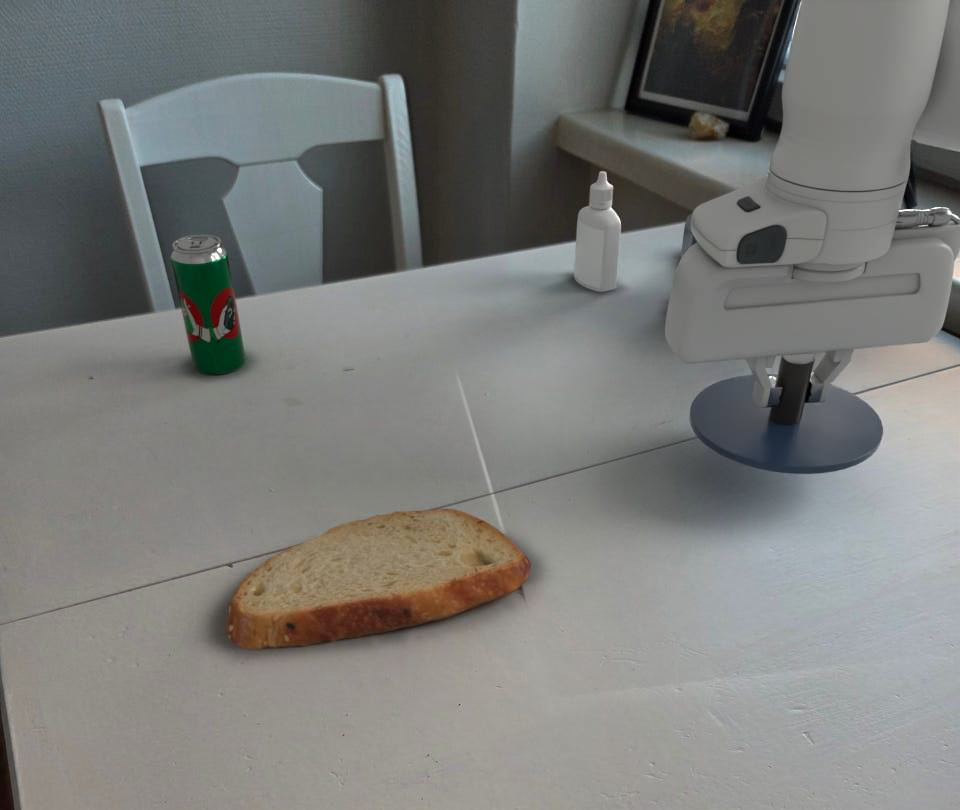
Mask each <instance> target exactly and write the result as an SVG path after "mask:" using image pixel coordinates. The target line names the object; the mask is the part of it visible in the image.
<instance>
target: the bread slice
mask: <svg viewBox="0 0 960 810" xmlns="http://www.w3.org/2000/svg"><path fill="white" fill-rule="evenodd" d="M531 568H532V563H531V560H530V559H529V557H528V556H527V554H525V553H524V551H522V550H521V549H520V548H519V547H518V546H517V545H516V544H515V543H514V542H513V540H511V539H510V538H509V537H508V536H507V535H505V534H504V533H503V532H502V531H500V530H499V529H498V528H496V527H494V526H493V525H492V524H490V523H488V522H487V521H485V520H483V519H481V518H478V517H477V516H474V515H472V514H469V513H468V512H464V511H462V510H458V509H454V508H435V509H426V510H425V509H424V510H409V511H404V510H403V511H398V510H397V511H393V512H389V513H385V514H376V515H374V516H371V517H368V518H365V519H357V520H352V521H349V522H346V523H341V524H339V525H336V526H334V527H332V528H330V529H328V530H327V531H325V532H324V533H323V534H321V535H320V536H318V537H315V538H311V539H310V540H307V541H305V542H302V543H300V544H297V545H293V546H290V547H289V548H287V549H285V550H283V551H281V552H280V553H277V554H276V555H273V556H272V557H269V558H268V559H267V560H266V561H265V562H263V563H262V564H261V565H260V566H259V567H257V568H256V569H254V570H253V571H252V572H250V573H249V574H247V575H246V576H245V577H244V578H243V579H242V581H241V582H240V584H239V585H238V587H237V588H236V590H235V591H234V594H233V595H232V598H231V599H230V602H229V605H228V611H227V617H226V625H225V632H226V635H227V637H228V639H229V640H230V641H231V642H232V643H233V644H235V645H236V646H237V647H239V648H241V649H245V650H256V651H257V650H263V649H268V648H274V649H279V648H289V647H299V648H300V647H301V648H302V647H308V646H311V645H316V644H328V643H329V644H330V643H333V642H336V641H340V640H343V639H357V638H360V637H363V636H367V635H374V634H383V633H388V632H392V631H396V630H399V629H404V628H410V627H416V626H420V625H423V624H425V623H428V622H434V621H435V622H436V621H442V620H445V619H447V618H450V617H453V616H455V615H458V614H460V613H463V612H467V611H471V610H473V609H475V608H477V607H479V606H481V605H483V604H486V603H489V602H492V601H496V600H498V599H501V598H503V597H506V596H508V595H510V594H513V593H514V592H515V591H517V590H518V589H520V588H521V587H522V586H523V584H525V582H527V580H528V578H529V575H530V570H531Z"/></svg>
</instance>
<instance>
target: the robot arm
mask: <svg viewBox="0 0 960 810" xmlns="http://www.w3.org/2000/svg"><path fill="white" fill-rule="evenodd" d="M790 40H791V41H790V46H789V50H788V56H787V61H786V65H785V71H784V76H783V83H782V89H781V105H782V125H781V131H780V134H779V137H778V140H777V142H776V145H775V147H774V149H773V151H772V154H771V156H770V158H769V159H770V160H769V164H768V169H767V170H768V171H767V175H765V176H763V177H761V178H759V179H757V180H755V181H753V182H751V183H749V184H746V185H744V186H742V187H740V188H737V189H735V190H732V191H730V192H728V193H725V194H722V195H720V196H718V197H715V198H713V199H710V200H708V201H704V202H702V203H701V204H699V205H698V206H696V207H695V208H694V209H693V211H692V213H693V214H692V213H691V214H692V218H691V231H692V234H693V235H694V237H695V239H696V240H697V243H695V244H694V245H692V246H691V247H690V248H689V249H688V250H687V251H686V252H685V253H684V255H683V256H682V258H681V257H680V258H681V260H680V259H679V262H678V264H677V267H676V269H675V274H674V277H673V281H672V285H671V289H670V294H669V299H668V303H667V310H666V316H665V325H664V335H665V339H666V341H667V343H668V345H669V347H670V349H671V351H673V353H674V354H675V355H676V356H677V357H678V358H679V360H681V361H682V362H683V363H685V364H688V365H689V364H690V365H691V364H701V363H702V364H703V363H713V362H722V361H723V362H724V361H735V360H745V361H746V363H747V365H748V367H749V370H750V372H751V375H753V376H754V378H755V385H754V390H753V401H754V403H755V404H756V405H757V406H758V408H765V407H774V406H778V405H779V402H780V400H779V397H780V396H781V393H782V388H783V387H782V386H781V385H780V383H777V380H776V379H775V377H768V375H767V374H768V372H767V370H766V369H772V368H774V365H775V360H776V357H781V356H782V355H793V354H804V353H809V354H813V353H815V354H816V353H825V355H824V356H823V357H822V358H821V360H820V361H819V363H818V364H817V366H816V367H815V369H814V370H812V373H811V378H810V382H809V387H808V391H807V395H806V400H805V403H816V402H825V401H826V399H827V395H828V391H829V387H830V384H831V383H833V382H834V381H835V380H836V379H837V377H838V376H839V375H840V374H841V373H842V372H843V371H844V370H845V369H846V367H848V365H849V364H850V363H851V361H852V356H853V352H854V350H858V349H860V350H861V349H871V348H883V347H892V346H894V347H895V346H905V345H916V344H925V343H929V342H930V341H931V340H932V339H933V338H934V337H935V336H936V335H937V334H938V333H940V331H941V330H942V328H943V326H944V324H945V319H946V316H947V311H948V307H949V304H950V303H949V302H950V298H951V297H950V296H951V292H952V287H953V286H952V285H953V279H954V278H953V277H954V272H955V271H954V269H955V261H956V260H957V258H958V255H959V253H960V217H959V216H958V215H957V214H955V213H952V210H951V208H948V207H933V208H932V207H931V208H930V209H923V210H921V209H902V210H901V208H902V203H903V200H904V195H905V192H906V187H907V184H908V179H909V176H910V173H911V172H910V170H911V144H912V141H915V142H916V143H917V144H920V145H926V146H931V147H935V148H940V149H944V150H950V151H954V152H957V153H958V152H959V153H960V0H800V3H799V7H798V11H797V15H796V19H795V24H794V27H793V32H792V36H791V39H790Z"/></svg>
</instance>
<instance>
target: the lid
mask: <svg viewBox="0 0 960 810" xmlns="http://www.w3.org/2000/svg"><path fill="white" fill-rule="evenodd" d="M814 364H815V357H814V355H813V354H812V353H804V354H793V355H782V356H780V362H779V367H778V371H777V374H775V373H774V374H772V373H767V375H768V377H775V379H776V380H777V383H780V385H781V386H782V387H783V388H782V393H781V396H780V397H779V400H780V402H779V405H778V406H774V407H765V408H758V406H757V405H756V404H755V403H754V401H753V390H754V385H755V378H754V376H753V374H745V375H740V376H735V377H730V378H726V379H723V380H720V381H717V382H714V383H712V384H710V385H709V386H707V387H705V388H704V389H703V390H701V391H700V392H699V393H698V394H697V395H696V396H695V397H694V399H693V400H692V402H691V405H690V408H689V417H688V419H689V423H690V428H691V429H692V431H693V433H694V434H695V435H696V437H697V438H698V440H700V441H701V442H702V443H703V444H704V445H705V446H706V447H707V448H709V449H710V450H712V451H713V452H714V453H717V454H718V455H720V456H721V457H723V458H726V459H728V460H731V461H733V462H735V463H738V464H741V465H743V466H748V467H751V468H753V469H754V468H755V469H759V470H763V471H768V472H772V473H773V472H774V473H780V474H793V475H816V474H818V475H819V474H827V473H834V472H838V471H844V470H846V469H849V468H852V467H855V466H857V465H860V464H861V463H863V462H865V461H867V460H868V459H869V458H871V457H872V456H873V455H874V454H875V453H876V452H877V451H878V449H879V447H880V445H881V442H882V439H883V435H884V426H883V423H882V422H883V421H882V419H881V418H880V416H879V414H878V413H877V412H876V411H875V409H874V408H873V407H872V406H871V405H870V404H868V402H866V401H865V400H863V399H861V397H859V396H857V395H856V394H854V393H852V392H850V391H848V390H845V389H843V388H842V387H838V386H836V385H834V384H831V383H830V387H829V391H828V395H827V399H826V401H825V402H816V403H805V400H806V395H807V391H808V387H809V382H810V378H811V373H813V369H814Z"/></svg>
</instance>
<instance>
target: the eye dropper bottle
mask: <svg viewBox="0 0 960 810" xmlns="http://www.w3.org/2000/svg"><path fill="white" fill-rule="evenodd" d="M607 175H608V174H607V171H605V170H604V171H603V170H601V171H599V173H598V176H597V180H596V182H594V183H592V184H591V185H590V187H589V201H588V205H587V206H584V207H582V208H581V209H580V210H579V212H578V214H577V219H576V232H575V233H576V234H575V248H574V249H575V251H574V265H573V279H574V280H575V281H576V282H577V283H578V285H581V286H582V287H584V288H587V289H589V290H591V291H594V292H598V293H605V292H609V291H612V290H615V289H616V288H617V278H618V269H619V257H620V247H621V246H620V244H621V235H622V234H621V233H622V224H621V219H620V217H619V215H618V214H617V212H616V211H615V210H614V209H613V208H612V206H613V196H614V195H613V194H614V185H612V184H611V183H609V182H608V177H607Z"/></svg>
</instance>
